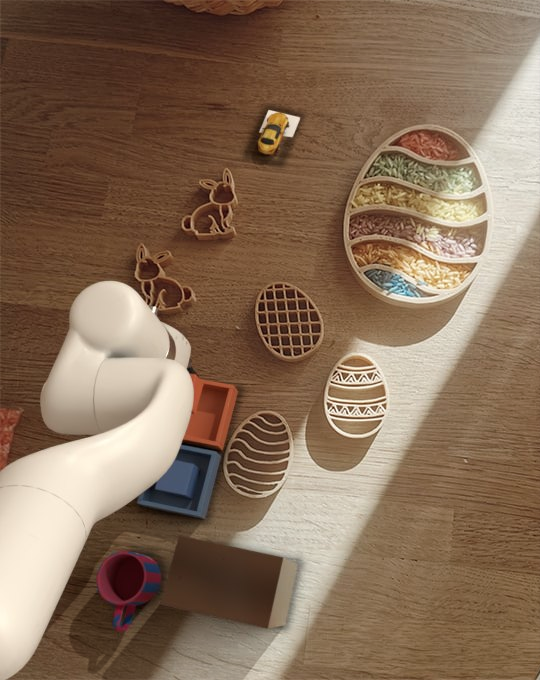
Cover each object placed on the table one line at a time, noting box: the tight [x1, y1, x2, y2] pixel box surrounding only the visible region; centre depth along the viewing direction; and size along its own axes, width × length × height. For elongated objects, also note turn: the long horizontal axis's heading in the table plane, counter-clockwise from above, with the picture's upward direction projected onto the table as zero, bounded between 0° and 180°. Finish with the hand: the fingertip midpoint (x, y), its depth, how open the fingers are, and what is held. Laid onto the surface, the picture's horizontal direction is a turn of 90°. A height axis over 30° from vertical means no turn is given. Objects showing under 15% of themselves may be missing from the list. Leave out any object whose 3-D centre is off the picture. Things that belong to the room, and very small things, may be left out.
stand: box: [160, 535, 299, 630], centre depth 93 cm, size 8×13×16 cm, turn 78°
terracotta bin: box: [181, 378, 239, 452], centre depth 108 cm, size 9×9×4 cm
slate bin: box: [136, 444, 222, 520], centre depth 104 cm, size 9×9×4 cm
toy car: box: [256, 109, 301, 156], centre depth 124 cm, size 4×8×2 cm, turn 162°
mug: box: [95, 550, 162, 633], centre depth 98 cm, size 7×10×7 cm
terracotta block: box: [190, 374, 203, 414], centre depth 98 cm, size 4×4×4 cm
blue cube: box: [155, 460, 201, 500], centre depth 104 cm, size 4×4×4 cm
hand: (182, 394), depth 99 cm, fingers closed on terracotta block, 4 cm apart
